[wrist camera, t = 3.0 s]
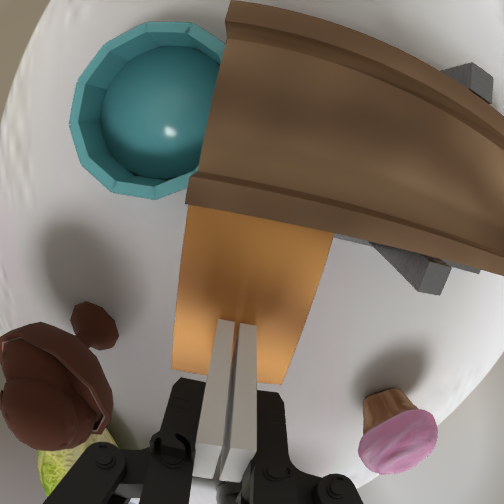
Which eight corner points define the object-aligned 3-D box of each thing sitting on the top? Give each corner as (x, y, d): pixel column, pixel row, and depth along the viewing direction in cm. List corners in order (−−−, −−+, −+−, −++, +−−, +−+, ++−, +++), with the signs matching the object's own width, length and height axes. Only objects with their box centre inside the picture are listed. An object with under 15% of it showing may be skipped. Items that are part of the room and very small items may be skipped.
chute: (458, 347, 21) (493, 392, 15) (184, 322, 18) (164, 396, 12) (524, 170, 15) (580, 188, 9) (234, 43, 13) (230, -13, 7)
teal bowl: (227, 201, 21) (222, 212, 18) (86, 178, 20) (62, 185, 17) (261, 47, 17) (261, 30, 14) (113, 39, 16) (92, 26, 13)
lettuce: (57, 358, 33) (155, 396, 38) (49, 458, 33) (127, 486, 37) (17, 410, 19) (152, 464, 23) (30, 510, 19) (125, 544, 23)
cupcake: (340, 392, 28) (361, 469, 18) (414, 361, 26) (452, 429, 17) (353, 430, 30) (369, 494, 21) (415, 404, 29) (442, 463, 20)
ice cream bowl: (47, 262, 23) (-60, 352, 9) (150, 298, 24) (70, 442, 10) (55, 345, 26) (-12, 437, 12) (142, 380, 27) (97, 499, 13)
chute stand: (473, 269, 22) (533, 318, 14) (253, 216, 21) (250, 270, 12) (507, 145, 18) (579, 159, 9) (290, 45, 17) (315, -19, 8)
